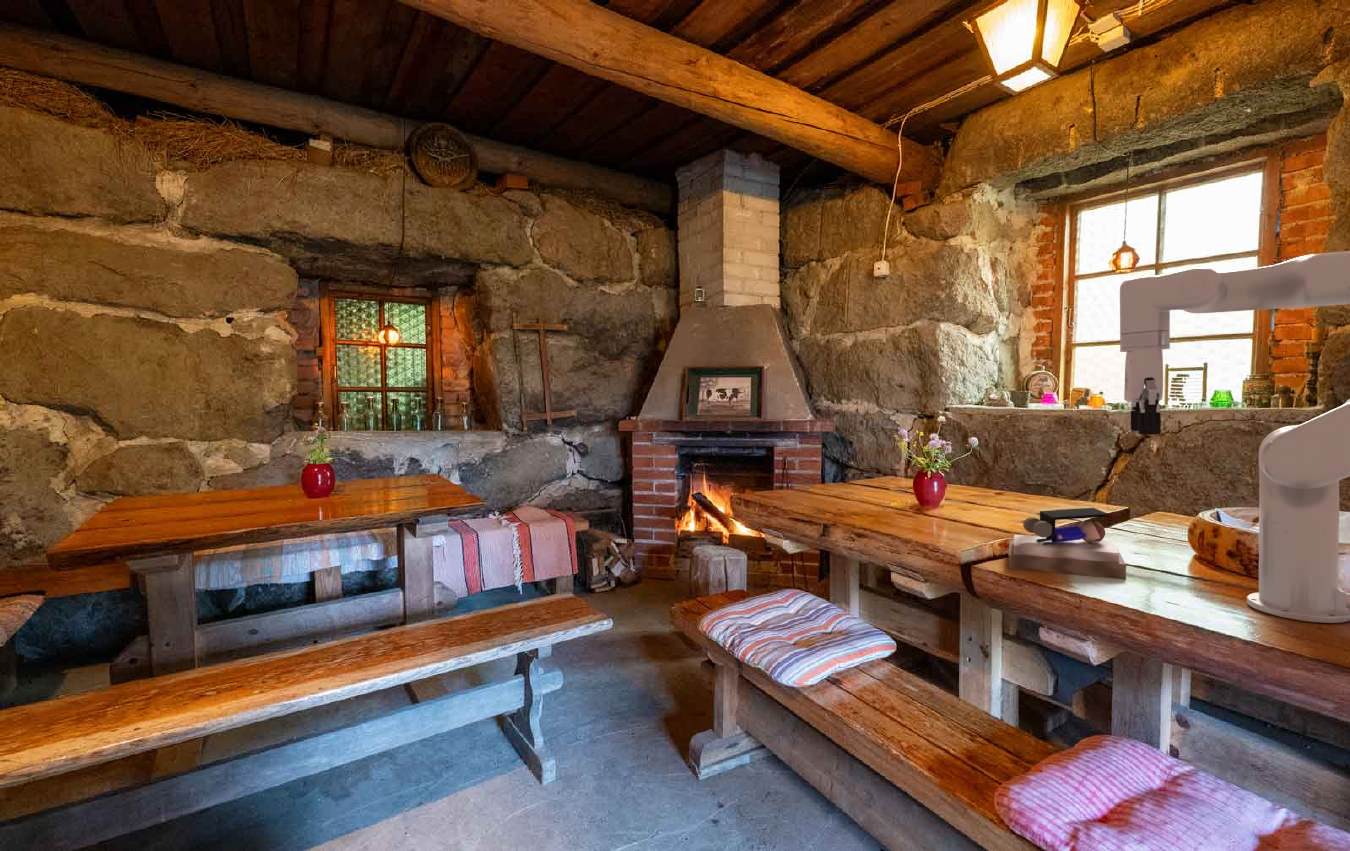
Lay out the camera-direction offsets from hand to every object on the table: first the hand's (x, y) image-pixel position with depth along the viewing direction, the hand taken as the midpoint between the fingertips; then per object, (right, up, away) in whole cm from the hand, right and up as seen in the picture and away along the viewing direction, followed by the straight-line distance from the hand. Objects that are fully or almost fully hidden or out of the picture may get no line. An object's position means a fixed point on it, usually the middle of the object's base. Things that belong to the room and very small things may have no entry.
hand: (1145, 432), depth 118 cm
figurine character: (-4, -25, +18) cm, 31 cm away
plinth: (-4, -30, +18) cm, 35 cm away
